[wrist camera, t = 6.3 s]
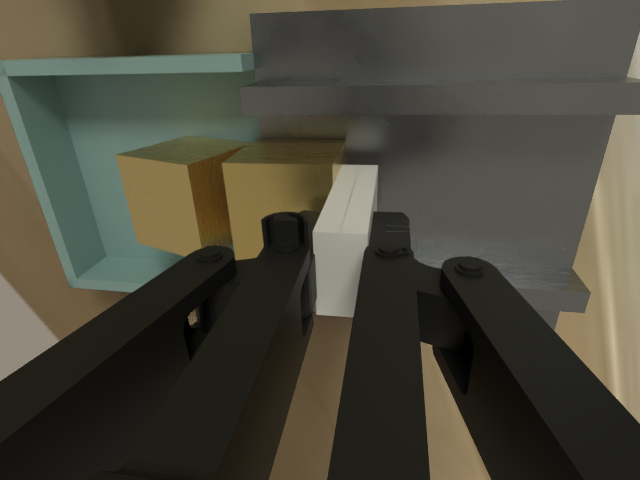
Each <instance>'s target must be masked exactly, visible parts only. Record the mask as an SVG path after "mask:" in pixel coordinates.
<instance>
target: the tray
mask: <svg viewBox="0 0 640 480" xmlns="http://www.w3.org/2000/svg"><path fill="white" fill-rule="evenodd" d="M255 82H256V78H255V67H254V56H253V52H249V53H211V54H173V55H135V56H97V57H59V58H33V59H15V60H0V92H1V95H2V98H3V101H4V103H5V106H6V109H7V112H8V115H9V117H10V120H11V123H12V126H13V129H14V132H15V134H16V137H17V140H18V143H19V146H20V148H21V151H22V154H23V157H24V160H25V163H26V165H27V168H28V171H29V174H30V177H31V179H32V182H33V185H34V188H35V191H36V194H37V196H38V199H39V202H40V205H41V208H42V211H43V213H44V216H45V219H46V222H47V225H48V227H49V230H50V233H51V236H52V239H53V242H54V244H55V247H56V250H57V253H58V256H59V258H60V261H61V264H62V267H63V270H64V273H65V275H66V278H67V281H68V284H69V287H70V288H82V289H95V290H108V291H121V292H134V291H135V290H137V289H138V288H140V287H141V286H143V285H144V284H146V283H147V282H148V281H150V280H151V279H153V278H154V277H156V276H157V275H159V274H160V273H162V272H163V271H165V270H166V269H168V268H169V267H171V266H172V265H174V264H175V263H177V262H178V261H180V260H181V259H183V258H184V257H185V256H182V255H178V254H175V253H171V252H168V251H164V250H161V249H157V248H154V247H150V246H147V245H144V244H140V243H138V242H137V238H136V234H135V230H134V226H133V222H132V218H131V214H130V211H129V207H128V203H127V199H126V195H125V191H124V187H123V183H122V179H121V175H120V171H119V167H118V163H117V159H116V154H120V153H124V152H127V151H131V150H135V149H139V148H142V147H146V146H150V145H154V144H157V143H161V142H165V141H169V140H173V139H176V138H180V137H184V136H188V135H189V136H199V137H208V138H218V139H228V140H237V141H247V142H252V141H254V140H255V139H261V133H260V122H259V115H242V106H241V97H240V87H242V86H245V85H248V84H251V83H255ZM228 248H231V249H232V250H233V251H234V246H233V244H232V245H231V246H229V247H228ZM234 254H235V253H234Z"/></svg>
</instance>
